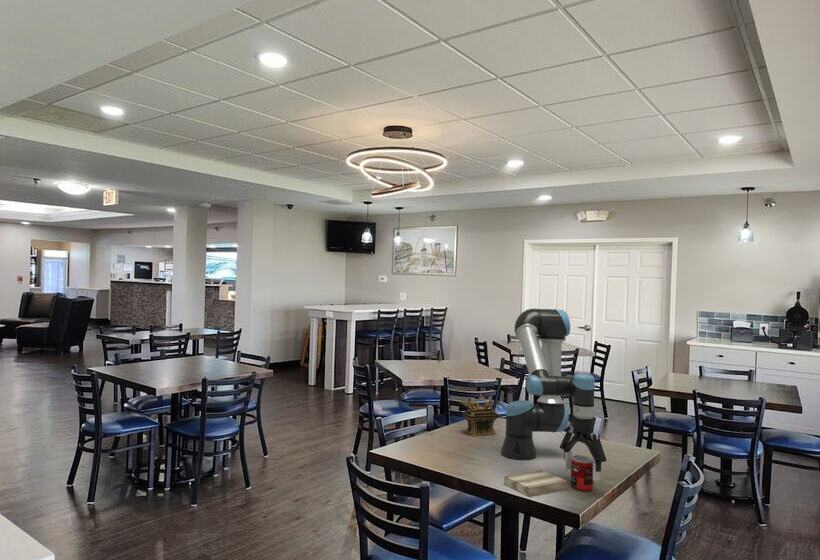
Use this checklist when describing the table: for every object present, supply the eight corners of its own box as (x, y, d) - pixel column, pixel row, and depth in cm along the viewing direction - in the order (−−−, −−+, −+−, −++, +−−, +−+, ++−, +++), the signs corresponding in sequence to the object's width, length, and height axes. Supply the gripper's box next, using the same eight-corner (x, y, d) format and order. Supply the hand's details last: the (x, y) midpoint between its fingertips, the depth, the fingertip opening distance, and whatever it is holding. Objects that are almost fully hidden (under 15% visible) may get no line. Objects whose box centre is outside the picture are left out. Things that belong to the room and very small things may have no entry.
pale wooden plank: (504, 484, 208) (504, 476, 208) (540, 477, 217) (540, 469, 217) (529, 496, 195) (530, 488, 196) (567, 489, 204) (567, 481, 204)
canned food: (570, 483, 211) (571, 454, 212) (592, 486, 209) (593, 456, 209) (570, 490, 204) (571, 459, 204) (593, 493, 202) (594, 462, 202)
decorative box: (489, 430, 289) (491, 392, 289) (499, 435, 280) (500, 395, 280) (455, 432, 281) (456, 393, 282) (463, 437, 272) (465, 397, 273)
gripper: (551, 411, 216) (550, 466, 215) (602, 424, 194) (601, 486, 194) (565, 409, 220) (564, 464, 219) (617, 423, 198) (616, 483, 197)
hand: (581, 474), depth 206 cm, fingers open, 13 cm apart
